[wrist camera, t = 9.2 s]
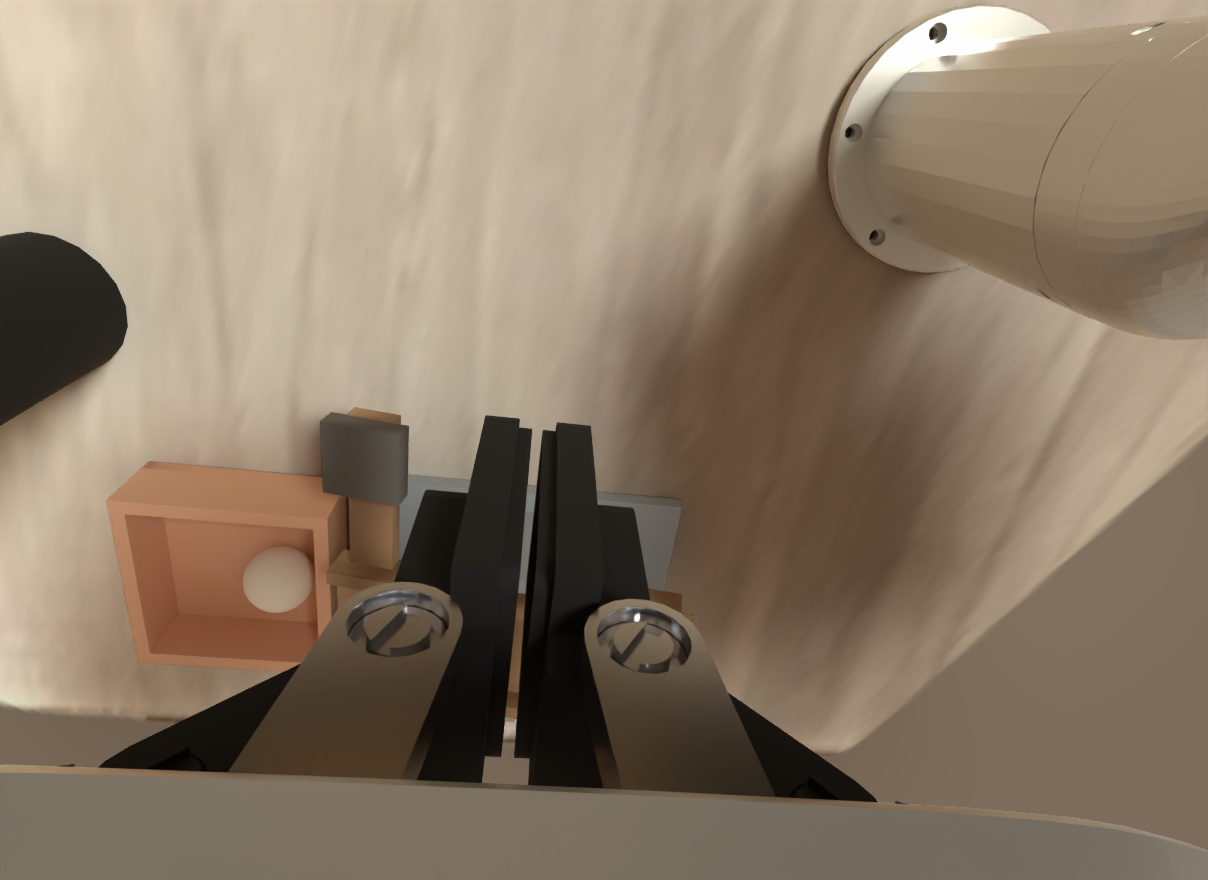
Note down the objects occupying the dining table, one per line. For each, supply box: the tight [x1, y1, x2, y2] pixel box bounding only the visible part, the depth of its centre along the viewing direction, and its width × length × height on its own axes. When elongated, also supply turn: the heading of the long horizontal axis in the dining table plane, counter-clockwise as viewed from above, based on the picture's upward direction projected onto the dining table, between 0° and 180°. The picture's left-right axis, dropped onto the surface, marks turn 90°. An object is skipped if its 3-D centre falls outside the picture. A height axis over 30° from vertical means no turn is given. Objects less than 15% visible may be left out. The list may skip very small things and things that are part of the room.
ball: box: [243, 546, 315, 613], centre depth 43 cm, size 4×4×4 cm
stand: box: [399, 475, 682, 722], centre depth 44 cm, size 20×13×8 cm, turn 82°
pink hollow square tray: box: [106, 461, 350, 671], centre depth 44 cm, size 12×12×4 cm
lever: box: [320, 407, 693, 719], centre depth 40 cm, size 20×17×6 cm
